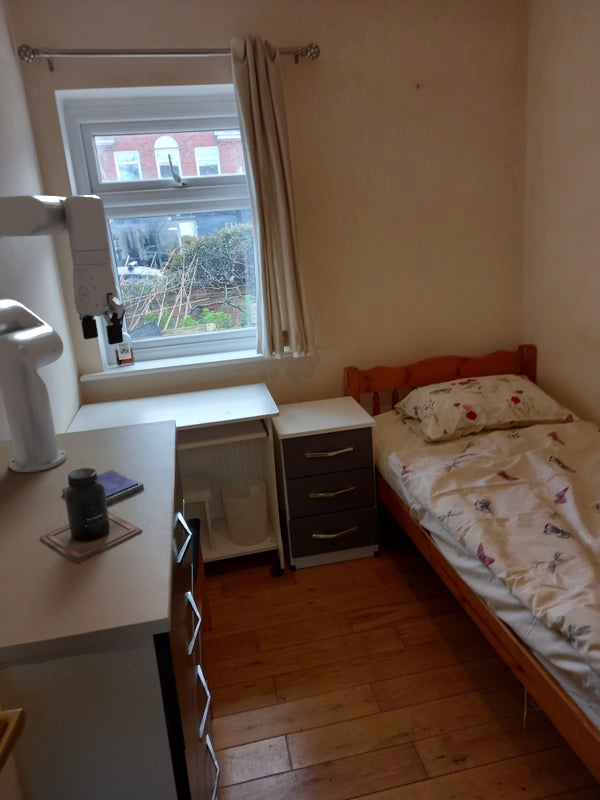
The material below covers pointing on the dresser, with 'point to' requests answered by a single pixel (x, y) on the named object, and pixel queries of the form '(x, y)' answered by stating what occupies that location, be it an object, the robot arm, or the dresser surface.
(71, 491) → the supplement bottle
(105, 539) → the marked board
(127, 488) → the ink pad
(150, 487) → the dresser surface
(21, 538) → the dresser surface
